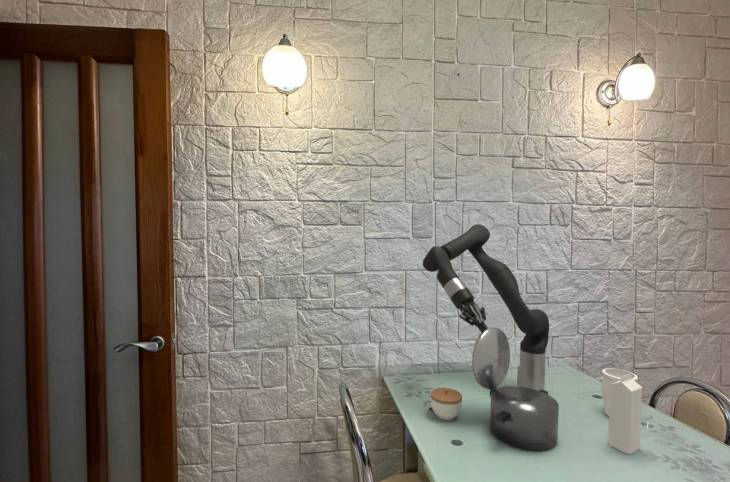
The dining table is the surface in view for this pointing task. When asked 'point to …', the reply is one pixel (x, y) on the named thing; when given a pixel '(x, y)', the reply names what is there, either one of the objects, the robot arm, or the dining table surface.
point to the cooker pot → (524, 418)
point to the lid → (491, 358)
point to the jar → (611, 377)
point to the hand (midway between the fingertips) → (487, 333)
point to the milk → (625, 415)
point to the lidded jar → (446, 403)
